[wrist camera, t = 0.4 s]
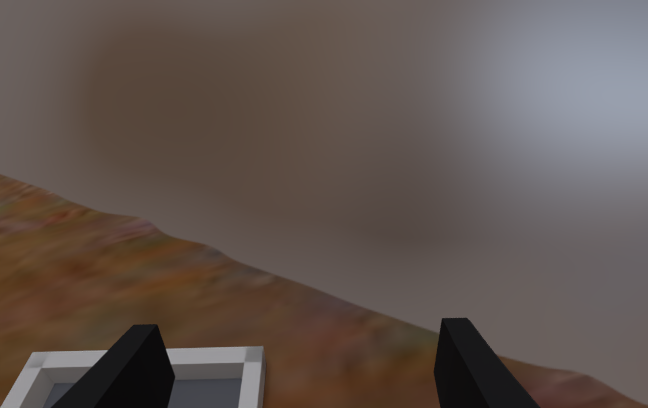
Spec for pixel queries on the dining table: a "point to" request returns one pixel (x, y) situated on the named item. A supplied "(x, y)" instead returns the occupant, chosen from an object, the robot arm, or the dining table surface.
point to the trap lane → (188, 389)
